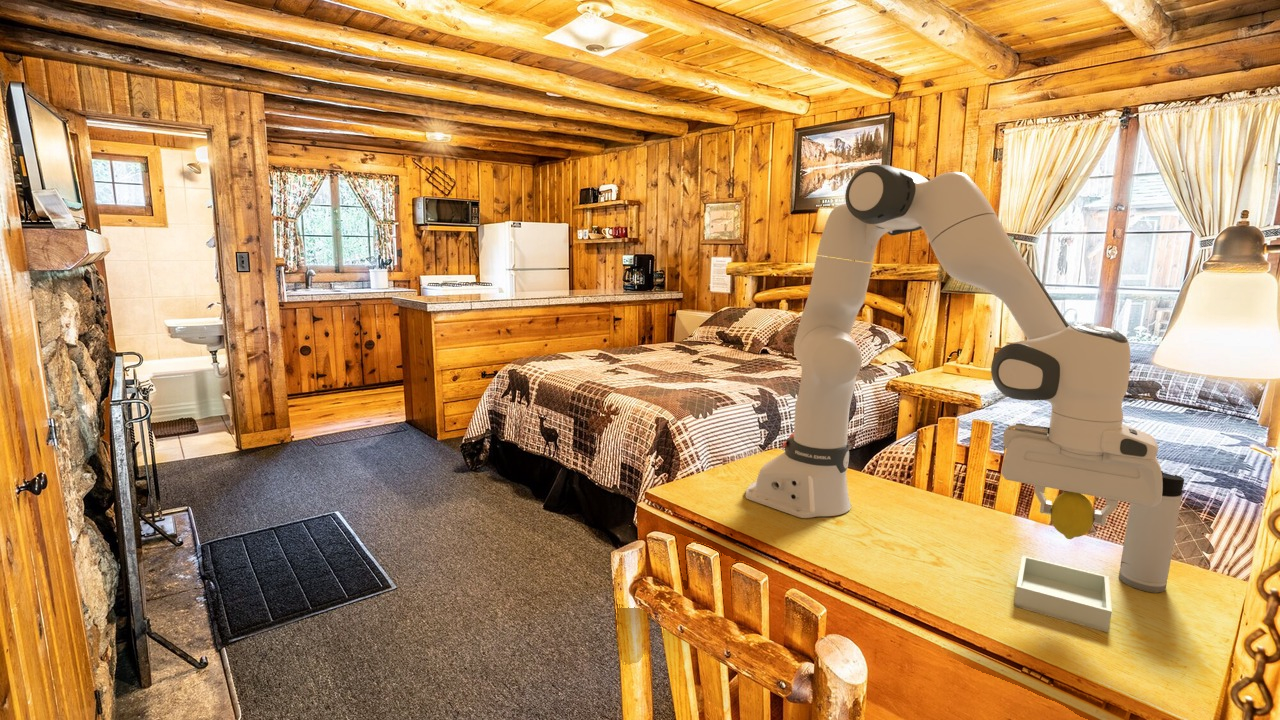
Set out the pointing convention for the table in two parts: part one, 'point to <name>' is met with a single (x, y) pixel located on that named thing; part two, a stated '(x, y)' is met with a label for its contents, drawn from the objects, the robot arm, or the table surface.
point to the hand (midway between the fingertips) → (1071, 517)
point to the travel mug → (1151, 539)
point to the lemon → (1072, 514)
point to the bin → (1064, 593)
